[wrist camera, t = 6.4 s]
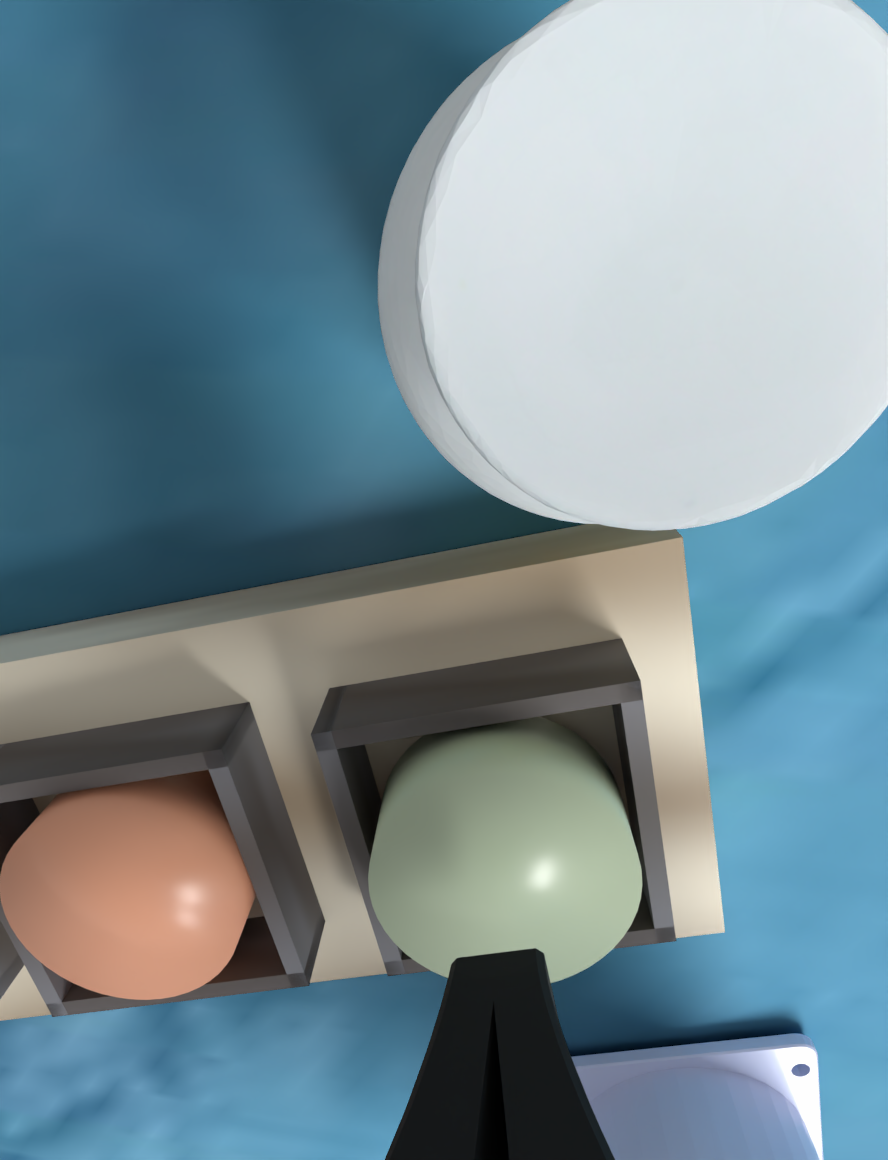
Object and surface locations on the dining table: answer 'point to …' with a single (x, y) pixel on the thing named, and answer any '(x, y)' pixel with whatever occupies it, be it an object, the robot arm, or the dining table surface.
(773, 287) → the supplement bottle
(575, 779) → the button sage
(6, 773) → the button board
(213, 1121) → the dining table surface
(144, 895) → the button terracotta
